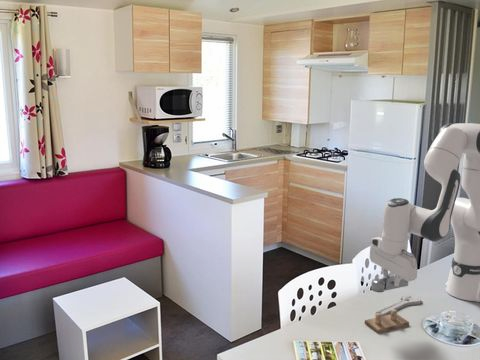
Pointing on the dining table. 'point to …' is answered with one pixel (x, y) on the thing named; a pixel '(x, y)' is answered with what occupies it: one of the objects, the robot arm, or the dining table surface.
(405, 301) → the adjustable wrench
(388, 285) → the gray flashlight
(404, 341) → the dining table surface
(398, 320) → the peg rack
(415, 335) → the dining table surface
